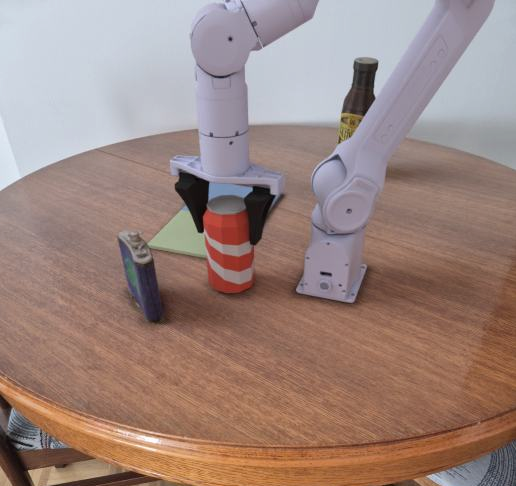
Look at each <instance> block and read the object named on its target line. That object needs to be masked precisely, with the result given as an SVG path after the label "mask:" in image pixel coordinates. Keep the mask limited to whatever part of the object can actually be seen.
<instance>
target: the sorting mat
mask: <svg viewBox="0 0 516 486" xmlns="http://www.w3.org/2000/svg"><path fill="white" fill-rule="evenodd" d="M252 191H253V189H252V188H250V187H244V186H239V185H234V184H220V183H213V182H210V184H209V200H210V199H212V198H215V197H218V196H220V195H236V196H239V197H243V198H245V197H246V196H247V195H248V194H249V193H250V192H252ZM282 193H283V191H282V192H281V193H280V194H279V195H276V197H275V199H274V201H273V203H272V205H271V207H270V210H269V212H270V211H271V210H272V208H273V207H274V206H275V204H276V202H278V201H279V199H280V197H281V196H282ZM147 244H148V246H149V248H150V249H153V250H159V251H163V252H169V253H175V254H181V255H185V256H190V257H195V258H196V257H197V258H202V259H207V257H206V246H205V235H204V232H203V233H202V234H201V233H198V231H197V229H196V226H195V223H194V221H193V218H192V216H191V214H190V211H189V209H188V208H187V206H186V204H185V205H184V206H183V207H182V208H181V209H180V210H179V211H178V212H177V213H176V214H175V215H174V216H173V218H171V219H170V220H169V221H168V223H166V224H165V225H164V226H163V227H162V229H160V231H158V232H157V233H156V235H154V236H153V237H152V238H151V240H149V241H148V242H147Z"/></svg>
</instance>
